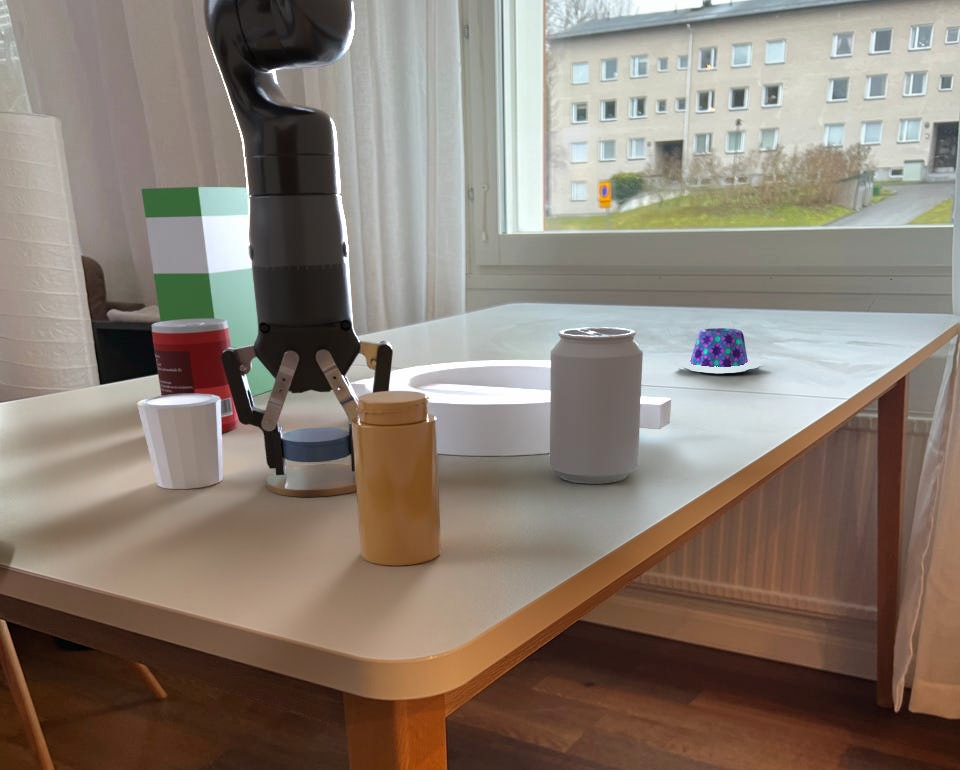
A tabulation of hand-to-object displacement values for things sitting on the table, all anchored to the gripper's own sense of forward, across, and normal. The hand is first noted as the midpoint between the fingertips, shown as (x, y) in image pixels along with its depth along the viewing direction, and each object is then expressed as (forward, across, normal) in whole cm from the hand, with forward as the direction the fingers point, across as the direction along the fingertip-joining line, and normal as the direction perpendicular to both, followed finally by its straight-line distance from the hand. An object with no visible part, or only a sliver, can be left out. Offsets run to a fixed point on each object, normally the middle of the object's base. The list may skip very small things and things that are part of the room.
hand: (318, 470), depth 84 cm
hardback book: (+1, +12, -49) cm, 50 cm away
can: (+1, -23, +2) cm, 23 cm away
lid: (-3, 0, 0) cm, 3 cm away
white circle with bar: (+1, -18, -20) cm, 28 cm away
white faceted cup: (+1, +11, -3) cm, 12 cm away
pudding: (+1, -53, -52) cm, 74 cm away
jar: (+1, -6, +20) cm, 21 cm away
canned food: (+1, +13, -26) cm, 29 cm away
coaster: (+1, 0, 0) cm, 1 cm away
